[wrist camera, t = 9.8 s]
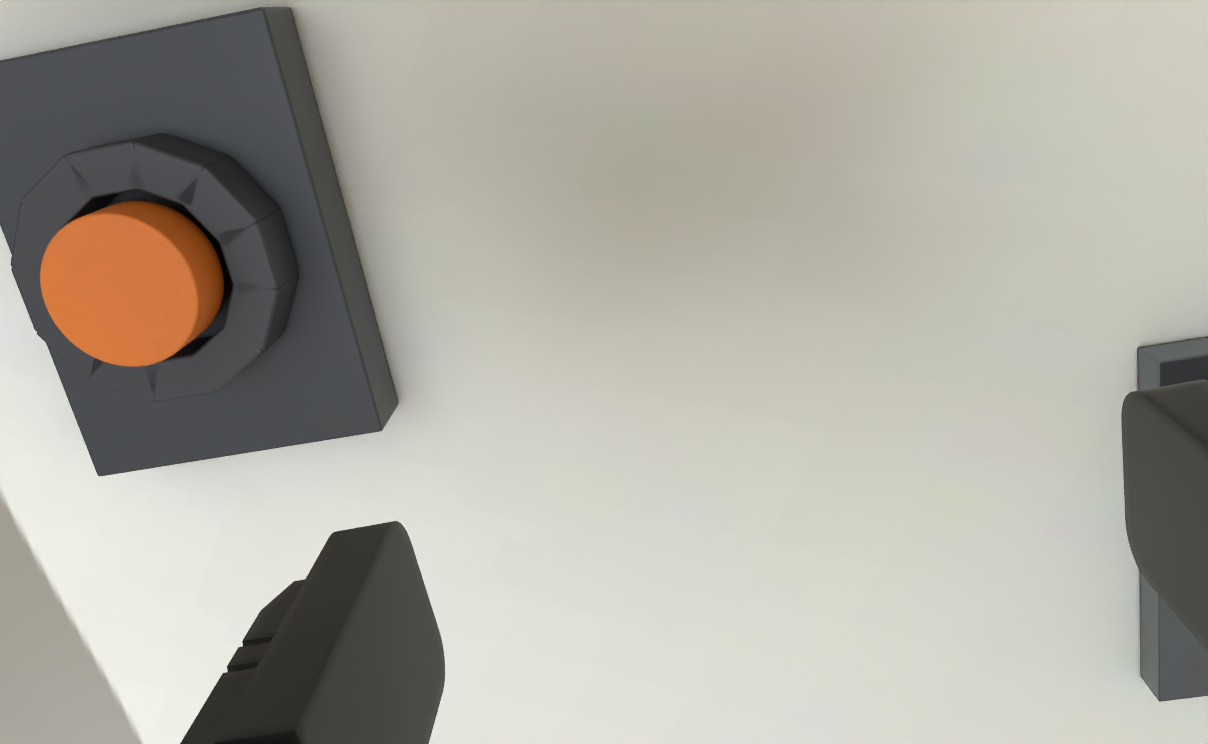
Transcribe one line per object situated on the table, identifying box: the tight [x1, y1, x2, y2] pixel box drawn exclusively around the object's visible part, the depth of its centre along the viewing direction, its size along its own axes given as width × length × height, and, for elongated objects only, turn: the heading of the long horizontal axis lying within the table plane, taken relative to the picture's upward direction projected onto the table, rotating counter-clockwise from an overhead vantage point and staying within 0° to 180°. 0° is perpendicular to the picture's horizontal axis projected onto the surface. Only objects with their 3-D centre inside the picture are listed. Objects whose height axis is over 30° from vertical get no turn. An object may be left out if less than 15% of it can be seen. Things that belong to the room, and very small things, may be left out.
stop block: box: [0, 7, 398, 476], centre depth 29 cm, size 12×9×4 cm
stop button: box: [40, 201, 224, 367], centre depth 26 cm, size 4×4×2 cm
